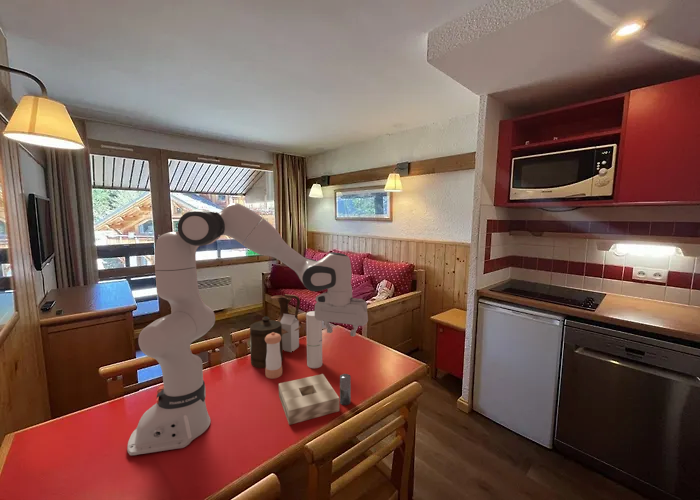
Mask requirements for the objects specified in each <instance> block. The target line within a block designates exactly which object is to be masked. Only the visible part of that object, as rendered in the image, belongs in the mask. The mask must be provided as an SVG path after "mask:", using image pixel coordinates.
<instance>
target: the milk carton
mask: <svg viewBox="0 0 700 500" xmlns="http://www.w3.org/2000/svg"><path fill="white" fill-rule="evenodd" d="M280 322H281V326H282V329H284V330H286V331H287V332H288V333H285V334H283V335H282V348H283V350H284V351H283V352H288V353H292V351H293V352H294V351H295V350H297V349H298V348H299V347H300V329H298V330H296V329H297V328H299V322H300V320H299V319H298V320H297V319H296V318H295V314H290V313H289V314H283V317H282V319H281V321H280ZM295 330H296V331H295Z"/></svg>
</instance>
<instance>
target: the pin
mask: <svg viewBox="0 0 700 500" xmlns="http://www.w3.org/2000/svg"><path fill="white" fill-rule="evenodd" d="M351 382H352V380H351V375H350V374H349V373H342V374H340V375H339V405H342V406H348V405H351V402H352V399H351V398H352V397H351V391H352V390H351V389H352V384H351Z"/></svg>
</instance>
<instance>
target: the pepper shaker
mask: <svg viewBox="0 0 700 500" xmlns="http://www.w3.org/2000/svg"><path fill="white" fill-rule="evenodd" d="M280 341H281V336H280V334H278V333H274V332H272V333H270V334H268V335H267V336H266V337H265V342H266V343H267V355H266V368H264V371H265V372H264V373H265V377H266V378H267V379H270V380H271V379H272V380H273V379H277V378H280V377H281V376H282V375H283V365H282V361H281V354H280Z"/></svg>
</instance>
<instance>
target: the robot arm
mask: <svg viewBox="0 0 700 500" xmlns="http://www.w3.org/2000/svg"><path fill="white" fill-rule="evenodd" d="M176 229H177V231H169V232H166V233H163V234H161V235H159V237H158V238H157V239H156V242H155V247H154V273H155V274H154V275H155V285H156V294H157V296H158V297H159V298H161V299H162V300H164V301H167V302H168V303H169V306H170V308H171V313H170V314H167V315H165V316H161V317H160V318H157V319H156V320H154V321H153V322H151V323H149V324H148V325H147V326H145V327H143V329H141V331H140V333H139V334H138V339H137V340H138V347H139V349H140V351H141V352H142V353H143V354H144V355H145V356H147V357H149V358H151V359H154V360H156V361H157V363H158V364H159V366H160V368H161V373H162V381H163V382H162V383H163V385H160V386H159V387H158V388H157V390H156V403H155V404H153V405H152V406H151V407H149V408H148V409H147V410H146V411H145V412H144V413H143V414H142V415H141V417H140V419H139V420H138V423H137V426H136V428H135V429H134V430H133V431H132V432H131V435H130V437H129V439H128V441H127V453H128V455H129V456H137V455H143V454H150V453H157V452H162V451H163V452H164V451H169V450H178V449H183V448H185V447H188V445H190V444H191V442H193V440H195V439H196V438H198V437H199V436H201V435H202V434H203V433H205V432H206V431H207V430H208V428H209V426H210V425H211V417H210V415H209V413H208V409H207V405H206V396H207V395H206V394H207V393H206V392H207V391H206V383H205V380H204V375H203V374H204V373H203V361H202V359H201V358H202V357H200V356H198V355H197V354H193V353H192V350H191V344H192V343H193V342H194V341H197V340H198V339H200V338H201V337H203V336H205V335H206V334H207V333H208V332H210V330H211V329H212V328H213V327H214V325H215V323H216V314H215V312H214V310H213V309H212V308H211V307H210V306H209V305H206V303H205V302H204V301H203V298H202V296H201V293H200V289H199V285H198V284H199V283H198V274H197V273H198V272H197V262H196V261H197V260H196V259H197V258H196V257H197V256H196V254H197V250H198V248H199V247H202V246H207V245H211V244H213V243H215V242H216V241H218V240H219V239H220V238H221V237H222V236H227V237H230V238H232V239H234V240H235V241H236V242H238V243H239V244H241V245H242V246H244V247H245V248H247V249H248V250H249V251H251V252H254V253H256V254H258V255H260V256H265V257H266V256H267V257H272V258H274V259H275V260H276V259H277V260H278V261H280V262H281V263H282V264H284V265H285V266H287V267H289V269H291V270H292V271H294V272H295V274H296V275H297V278H298V279H299V281H300V282H301V283H302V285H303V286H304V287H305V288H306V289H307V290H309V291H310V292H320V291H321V292H322V291H324V290H327V291H325V292H323V293H320V294H319V295H316V296H315V302H316V303H315V304H314V311H315V318H316V320H319V321H322V322H323V325H324V327H325V328H326V332H327V333H328V334H332V333H333V332H334V331H333V326H331V324H330V323H336V324H344V325H345V324H346V325H352V328H353V329H351V330H350V331H349V334H350V335H349V336H351V337H356V334H357V330H358V328H359V326H361V327H363V326H365V325H366V324H367V323H368V321H369V316H368V315H369V314H368V303H367V301H366V300H365V299H364V298H356V297H355V298H354V297H353V286H352V283H351V282H352V274H353V273H352V265H351V264H352V263H351V259H350V257H349V255H347V254H345V253H341V252H333V251H332V252H329V253H328V254H327V255H325V256H324V257H322V258H321V259H319V260H316V259H311V258H308V257H305V256H303V255H302V254H301V253H299V252H298V251H296V250H295V249H293V247H291V246H290V245H288V244H287V242H286V241H284V239H283V237H282V236H281V234H280V233H279V231H278V230H277V229H276V228H275V227H274V225H272V224H271V223H270V222H269V221H267V220H266V219H265V218H263V217H262V216H261V215H260V214H259V213H257V212H255V211H254V210H252V209H250V208H249V207H247V206H245V205H242V204H240V203H239V202H238V203H237V202H233V203H230V204H227V205H226V206H224V208H222V210H221V211H220V212H217V211H212V210H209V209H204V208H202V209H201V208H200V209H191V210H188V211H187V212H185V213H183V214H182V216H181V217H180V218H179V220H178V221H177V228H176Z"/></svg>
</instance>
